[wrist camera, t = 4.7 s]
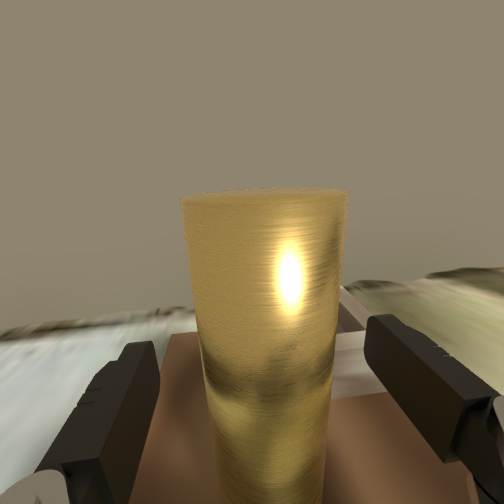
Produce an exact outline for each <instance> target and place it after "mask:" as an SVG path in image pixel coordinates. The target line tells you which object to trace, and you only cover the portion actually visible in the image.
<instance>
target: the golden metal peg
mask: <svg viewBox="0 0 504 504" xmlns="http://www.w3.org/2000/svg"><path fill="white" fill-rule="evenodd" d="M348 194H349V193H348V191H345V190H339V189H329V188H258V189H239V190H227V191H215V192H206V193H199V194H192V195H188V196H184V197H182V198H180V204H181V211H182V219H183V226H184V234H185V241H186V248H187V256H188V263H189V271H190V278H191V286H192V293H193V300H194V308H195V315H196V323H197V330H198V337H199V345H200V352H201V360H202V367H203V374H204V382H205V389H206V396H207V404H208V411H209V419H210V426H211V433H212V441H213V448H214V456H215V463H216V470H217V478H218V485H219V493H220V500H221V504H322V492H323V481H324V469H325V458H326V446H327V435H328V424H329V412H330V401H331V389H332V378H333V366H334V355H335V343H336V332H337V320H338V309H339V297H340V286H341V274H342V263H343V251H344V239H345V227H346V216H347V205H348Z"/></svg>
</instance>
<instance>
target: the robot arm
mask: <svg viewBox="0 0 504 504" xmlns="http://www.w3.org/2000/svg"><path fill="white" fill-rule="evenodd" d="M363 351H364V357H365V360H366V362H367V364H368V366H369V367H370V369H371V370H372V371H373V373H374V374H375V375H376V376H377V378H378V379H379V380H380V382H381V383H382V384H383V386H384V387H385V388H386V389H387V391H388V392H389V393H390V395H391V396H392V397H393V399H394V400H395V401H396V402H397V404H398V405H399V406H400V408H401V409H402V410H403V412H404V413H405V414H406V416H407V417H408V418H409V419H410V421H411V422H412V423H413V425H414V426H415V427H416V429H417V430H418V431H419V432H420V434H421V435H422V436H423V438H424V439H425V440H426V442H427V443H428V444H429V445H430V447H431V448H432V449H433V451H434V452H435V453H436V455H437V456H438V457H439V458H440V460H441V461H442V462H443V464H446V463H452V462H457V461H461V462H462V463H463V464H464V465H465V466H466V468H467V472H466V482H467V486H468V491H469V495H470V500H471V504H504V395H503V396H502V395H501V394H499V393H498V392H497V391H496V390H494V389H493V388H492V387H490V386H489V385H488V384H487V383H485V382H484V381H483V380H482V379H480V378H479V377H478V376H477V375H475V374H474V373H473V372H471V371H470V370H469V369H468V368H466V367H465V366H464V365H463V364H461V363H460V362H459V361H458V360H456V359H455V358H454V357H452V356H451V357H450V355H449V353H447V352H446V351H445V350H444V349H442V348H441V347H438V345H437V344H436V343H435V342H433V341H432V340H431V339H430V338H428V337H427V336H426V335H425V334H423V333H421V332H419V331H417V330H415V329H413V328H411V327H409V326H406V325H405V324H404V323H402V322H401V321H400V320H399V319H397V318H396V317H395V316H394V315H392V314H385V315H376V316H370V317H369V318H368V320H367V326H366V334H365V341H364V349H363ZM159 391H160V373H159V368H158V363H157V359H156V354H155V349H154V345H153V342H152V341H143V342H134V343H128V344H126V346H125V347H124V349H123V351H122V353H121V355H120V356H119V358H118V360H116V361H109V362H108V363H107V364H106V365H105V366H104V367H103V368H102V369H101V370H100V371H99V372H98V373H97V374H95V376H94V377H93V379H92V381H91V382H90V384H89V385H88V387H87V389H86V390H85V393H84V394H83V395H82V397H81V398H80V400H79V401H78V403H77V407H75V408H74V409H73V411H72V413H71V414H70V416H69V417H68V419H67V421H66V422H65V424H64V426H63V427H62V429H61V430H60V432H59V434H58V435H57V437H56V438H55V440H54V442H53V443H52V445H51V446H50V448H49V450H48V451H47V453H46V454H45V456H44V458H43V459H42V461H41V462H40V464H39V466H38V467H37V469H36V470H35V472H34V473H33V474H31V475H29V476H27V477H25V478H23V479H22V480H20V481H18V482H17V483H15V484H14V485H13V486H11V487H10V488H9V489H7V490H6V491H5V492H4V493H3V494H1V495H0V504H129V500H130V497H131V493H132V489H133V486H134V482H135V479H136V475H137V471H138V468H139V464H140V461H141V457H142V453H143V450H144V446H145V443H146V439H147V436H148V432H149V428H150V425H151V421H152V418H153V414H154V410H155V407H156V403H157V400H158V396H159Z"/></svg>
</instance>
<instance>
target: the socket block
mask: <svg viewBox="0 0 504 504" xmlns="http://www.w3.org/2000/svg"><path fill="white" fill-rule="evenodd" d="M370 316H374V315H373V314H372V313H370V312H369V311H368V310H367V309H366V308H365V307H364V306H363V305H362V304H361V303H360V302H359V301H357V300H356V299H355V298H354V297H353V296H352V295H351V294H350V293H349V292H348V291H347V290H346V289H344V288H343V287H342V286H340V297H339V309H338V320H337V332H336V343H335V355H334V366H333V378H332V389H331V401H330V412H329V424H328V435H327V446H326V458H325V469H324V481H323V492H322V504H471V500H470V495H469V491H468V486H467V482H466V472H467V468H466V466H465V465H464V464H463V463H462V462H461V461H457V462H452V463H446V464H443V462H442V461H441V460H440V458H439V457H438V456H437V455H436V453H435V452H434V451H433V449H432V448H431V447H430V445H429V444H428V443H427V442H426V440H425V439H424V438H423V436H422V435H421V434H420V432H419V431H418V430H417V429H416V427H415V426H414V425H413V423H412V422H411V421H410V419H409V418H408V417H407V416H406V414H405V413H404V412H403V410H402V409H401V408H400V406H399V405H398V404H397V402H396V401H395V400H394V399H393V397H392V396H391V395H390V393H389V392H388V391H387V389H386V388H385V387H384V386H383V384H382V383H381V382H380V380H379V379H378V378H377V376H376V375H375V374H374V373H373V371H372V370H371V369H370V367H369V366H368V364H367V362H366V360H365V357H364V351H363V349H364V341H365V334H366V326H367V320H368V318H369V317H370ZM129 504H221V500H220V493H219V485H218V478H217V470H216V463H215V456H214V448H213V441H212V433H211V426H210V419H209V411H208V404H207V396H206V389H205V382H204V374H203V367H202V360H201V352H200V345H199V337H198V332H189V333H180V334H172V335H171V339H170V342H169V345H168V349H167V352H166V355H165V358H164V362H163V365H162V368H161V372H160V391H159V396H158V400H157V403H156V407H155V410H154V414H153V418H152V421H151V425H150V428H149V432H148V436H147V439H146V443H145V446H144V450H143V453H142V457H141V461H140V464H139V468H138V471H137V475H136V479H135V482H134V486H133V489H132V493H131V497H130V500H129Z"/></svg>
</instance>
